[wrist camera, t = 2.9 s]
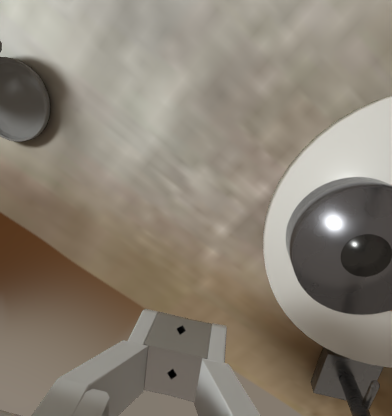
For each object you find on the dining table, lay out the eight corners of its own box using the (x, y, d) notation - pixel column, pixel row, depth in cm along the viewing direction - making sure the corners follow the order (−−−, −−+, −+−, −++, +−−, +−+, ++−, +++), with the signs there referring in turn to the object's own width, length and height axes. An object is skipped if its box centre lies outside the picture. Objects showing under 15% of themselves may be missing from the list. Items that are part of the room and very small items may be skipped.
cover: (302, 167, 20) (312, 176, 17) (438, 188, 19) (474, 201, 16) (273, 276, 23) (278, 300, 20) (390, 299, 22) (413, 327, 19)
